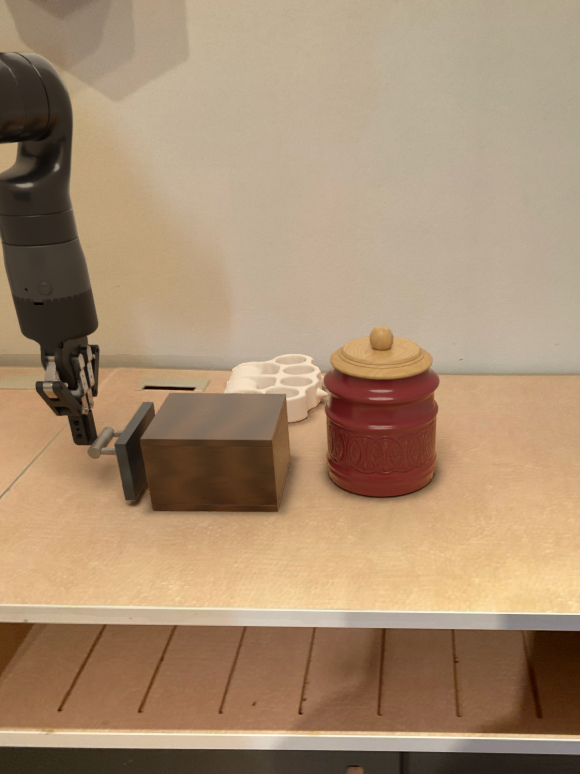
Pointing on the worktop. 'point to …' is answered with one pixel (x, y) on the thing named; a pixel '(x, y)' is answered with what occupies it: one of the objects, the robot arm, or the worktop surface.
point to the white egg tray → (281, 382)
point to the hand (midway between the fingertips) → (86, 442)
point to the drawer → (127, 450)
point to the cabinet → (217, 452)
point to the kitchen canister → (381, 415)
